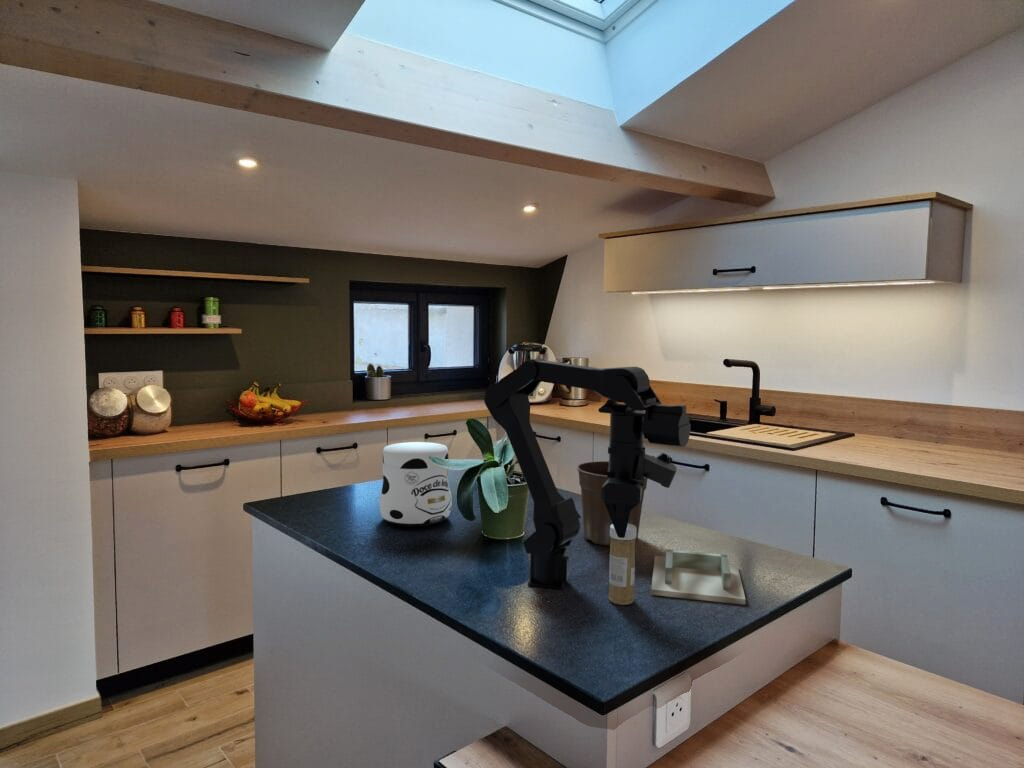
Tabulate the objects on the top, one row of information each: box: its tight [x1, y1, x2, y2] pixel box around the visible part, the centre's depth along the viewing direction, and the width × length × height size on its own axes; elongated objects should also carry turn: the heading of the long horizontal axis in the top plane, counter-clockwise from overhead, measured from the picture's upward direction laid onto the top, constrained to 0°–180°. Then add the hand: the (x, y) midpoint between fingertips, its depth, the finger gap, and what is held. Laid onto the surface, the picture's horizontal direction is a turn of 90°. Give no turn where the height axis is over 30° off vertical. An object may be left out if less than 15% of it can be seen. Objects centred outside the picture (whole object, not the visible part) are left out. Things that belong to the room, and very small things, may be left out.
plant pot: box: [576, 460, 649, 547], centre depth 152 cm, size 16×16×16 cm
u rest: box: [650, 548, 746, 606], centre depth 128 cm, size 16×18×4 cm
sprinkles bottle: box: [608, 523, 636, 606], centre depth 118 cm, size 5×5×14 cm
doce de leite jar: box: [378, 441, 453, 528], centre depth 163 cm, size 17×17×18 cm
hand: (623, 529), depth 118 cm, fingers open, 9 cm apart
